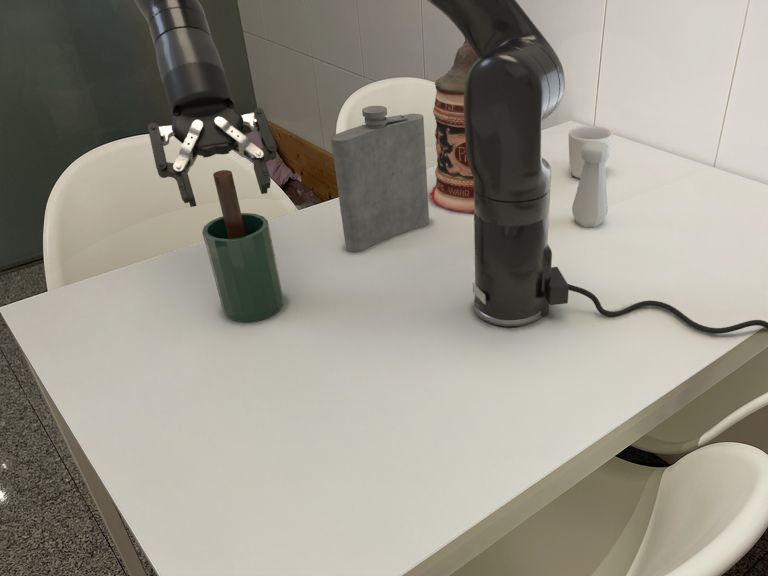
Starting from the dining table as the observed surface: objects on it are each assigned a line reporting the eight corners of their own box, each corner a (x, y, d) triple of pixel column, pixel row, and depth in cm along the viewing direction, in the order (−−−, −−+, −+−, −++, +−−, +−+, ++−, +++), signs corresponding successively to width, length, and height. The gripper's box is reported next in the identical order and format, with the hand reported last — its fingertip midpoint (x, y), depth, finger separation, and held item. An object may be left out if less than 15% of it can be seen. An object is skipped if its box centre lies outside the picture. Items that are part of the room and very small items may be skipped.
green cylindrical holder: (284, 288, 99) (268, 210, 92) (283, 318, 93) (266, 237, 86) (226, 294, 98) (206, 216, 91) (221, 325, 92) (199, 243, 85)
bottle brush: (267, 291, 97) (240, 165, 86) (266, 306, 94) (238, 178, 83) (238, 294, 96) (207, 168, 86) (235, 309, 93) (203, 181, 82)
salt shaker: (566, 226, 114) (572, 148, 106) (575, 212, 118) (581, 136, 110) (602, 231, 112) (610, 152, 104) (610, 217, 116) (618, 140, 108)
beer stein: (482, 232, 118) (538, 187, 129) (490, 66, 98) (554, 30, 109) (406, 200, 124) (465, 160, 135) (398, 38, 105) (468, 7, 116)
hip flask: (353, 254, 107) (336, 124, 95) (338, 245, 110) (320, 117, 98) (433, 222, 116) (426, 99, 104) (417, 215, 118) (409, 94, 106)
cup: (614, 188, 126) (618, 145, 121) (569, 189, 126) (572, 145, 121) (605, 166, 134) (609, 125, 130) (563, 167, 135) (566, 125, 130)
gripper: (127, 67, 81) (164, 196, 79) (251, 52, 85) (289, 173, 84) (138, 102, 88) (171, 221, 86) (252, 86, 93) (286, 199, 91)
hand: (229, 197), depth 85 cm, fingers open, 8 cm apart
